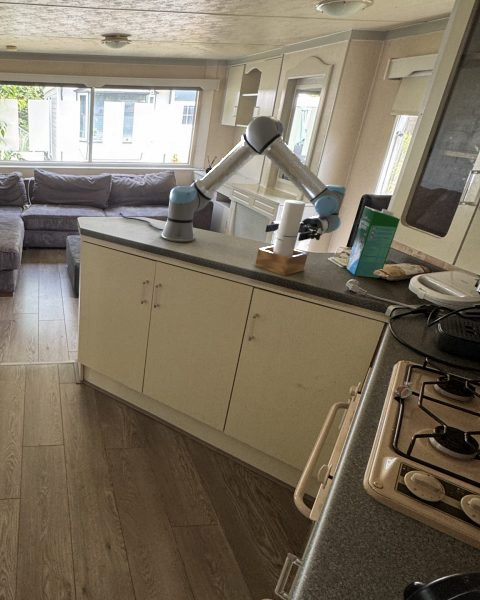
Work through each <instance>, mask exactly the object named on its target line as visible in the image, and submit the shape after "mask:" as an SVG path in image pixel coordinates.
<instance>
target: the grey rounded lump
mask: <svg viewBox="0 0 480 600" xmlns="http://www.w3.org/2000/svg"><path fill="white" fill-rule="evenodd" d="M411 384H412V381H409V383H406V381H404V382H403V384H401V385H398V386H397V387H396V389H395V390H394V392H395V393H396V395H397V396H398V397H399V398H400V399H406V398H408V397H409V396H411V395H412V393H413V391H412V388H411Z"/></svg>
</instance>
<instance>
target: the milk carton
mask: <svg viewBox="0 0 480 600" xmlns="http://www.w3.org/2000/svg"><path fill="white" fill-rule="evenodd" d="M394 215H395V212H394V211H391V210H388V209H385V208H382V209H381V210H379V209H375V208H372V207H369V206H364V208H363V212H362V215H361V218H360V220H359V221H360V222H359V225H358V228H357V231H356V234H355V238H354V240H353V243H352V248H351V250H350V254H349V256H348V260H347V264H346V266H345V268H346V270H348V271H349V272H350V273H351V274H352V275H353V276H356V277H367V278H378V279H380V278H381V276H378V275H373V272H374V271H375V270H377V269H383V270H384V267H385V264H386V262H387V258H388V256H389V253H390V249H391V247H392V244H393V241H394V238H395V235H396V234H397V233H396V232H397V230H398V227H399V224H400V222H401V221H400V220H401V219H400V218H398V217H396V216H394Z"/></svg>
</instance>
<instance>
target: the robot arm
mask: <svg viewBox="0 0 480 600" xmlns="http://www.w3.org/2000/svg"><path fill="white" fill-rule="evenodd" d="M283 134H284V125H283V122H282V121H281V120H280V119H279V118H277V117H276V116H273V115H260V116H256V117H255V118H253V119H252V120H251V121H250V122H249V123H248V125H247V127H246V131H245V133H243V134H242V135H241V141H240V142H239V143H238V144H236V146H234V148H233V149H232V150H231V151H229V153H228V154H226V156H224V157H223V158H222V159H221V160H220V162H218V163H217V164H216V165H215V166H214V167H213V168H212V169H211V170H210V171H209V172H208V173H207V174H206V175H205V176H204V177H203V178H202V179H198V178H197V179H196V180H195V181H194V182H193V183H192V184H191V185H190V186H189V185H181V186H175V187H173V188H172V189H171V190H170V194H169V203H168V211H167V219H166V223H165V225H164V227H163V228H159V227H156V226H154V225H153V224H152V223H151V222H150V221H148V220H145V219H141V218H136V217H128V216H124V215H123V212H120V213H119V216H121V218H123V219H127V220H135V221H140V222H144V223H147V224H149V226H150V227H151V228H153V229H154V230H157V231H159V232H161V235H160V236H161V238H162V239H163V240H165V241H168V242H174V243H191V242H193V241H194V240H195V233H194V225H193V221H194V216H195V215H194V214H195V213H196V212H199V211H201V210H203V209H205V208H206V207H207V205H208V204H209V202H210V201H212V199H214V197H215V193H216V192H217V191H218V190H219V189H220V188H221V187H223V185H225V183H227V182H228V181H229V180H231V178H232V177H233V176H234V175H235V174H236V173H238V172H239V171H240V170H241V169H242V168H244V166H246V164H247V163H249V161H251V160H252V159H253V158H254V157H255V156H265V157H267V158H268V159H269V160H270V162H271V163H272V164H274V166H275V167H276V168H277V169H278V170H279V171H280V172H281V173H282V174H283V175H284V176H285V177H286V178H287V179H288V180H289V182H290V183H292V185H294V187H295V188H296V189H297V190H298V191H299V192H300V193H301V194H302V195H303V196H304V197H305V198H306V199H307V201H309V202H310V204H311V205H312V206H313V207H314V210H315V212H316V213H317V216H312V217H307V218H304V219H302V220H301V224H300V228H299V232H298V238H297V241H298V242H302V241H306V240H314V239H315V241H320V239H321V236H323V235H324V234H330V233H332V232H335V231H337V230H338V229H339V228H340V227H341V223H342V222H341V217H340V216H339V215H340V211H341V209H342V208H341V207H342V205H343V202H344V198H345V195H346V191H347V190H346V187H345V186H343V185H338V184H325V183H324V182H322V180H321V179H320V178H319V177H318V176H317V175H316V174H315V173H314V172H313V171H312V170H311V169H310V168H309V167H308V165H306V164H305V163H304V162H303V161H302V159H300V158H299V156H297V154H296V153H295V152H294V151H293V150H292V149H291V148H290V147H289V146H288V145H287V144H286V143H285V142H284V141H283ZM279 223H280V221H270V223H269V224H266V227H265V230H264V231H265V233H270V232H276V231H278V228H279Z"/></svg>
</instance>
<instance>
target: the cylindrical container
mask: <svg viewBox="0 0 480 600" xmlns="http://www.w3.org/2000/svg"><path fill="white" fill-rule="evenodd" d="M305 208H306V202H305V201H301V200H296V199H295V200H294V199H285V200H284V202H283V207H282V211H281V216H280V220H279V222H280V223H279V228H278V230H277V232H276V236H275V237H276V238H275V241H274V250H273V253H276V254H280V255H283V256H286V257H291V256H293V252H294V249H296V248H295V247H296V243H297V241H298V237H299V233H298V232H299V228H300V224H301V222H302V221H303V216H304V212H305Z"/></svg>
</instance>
